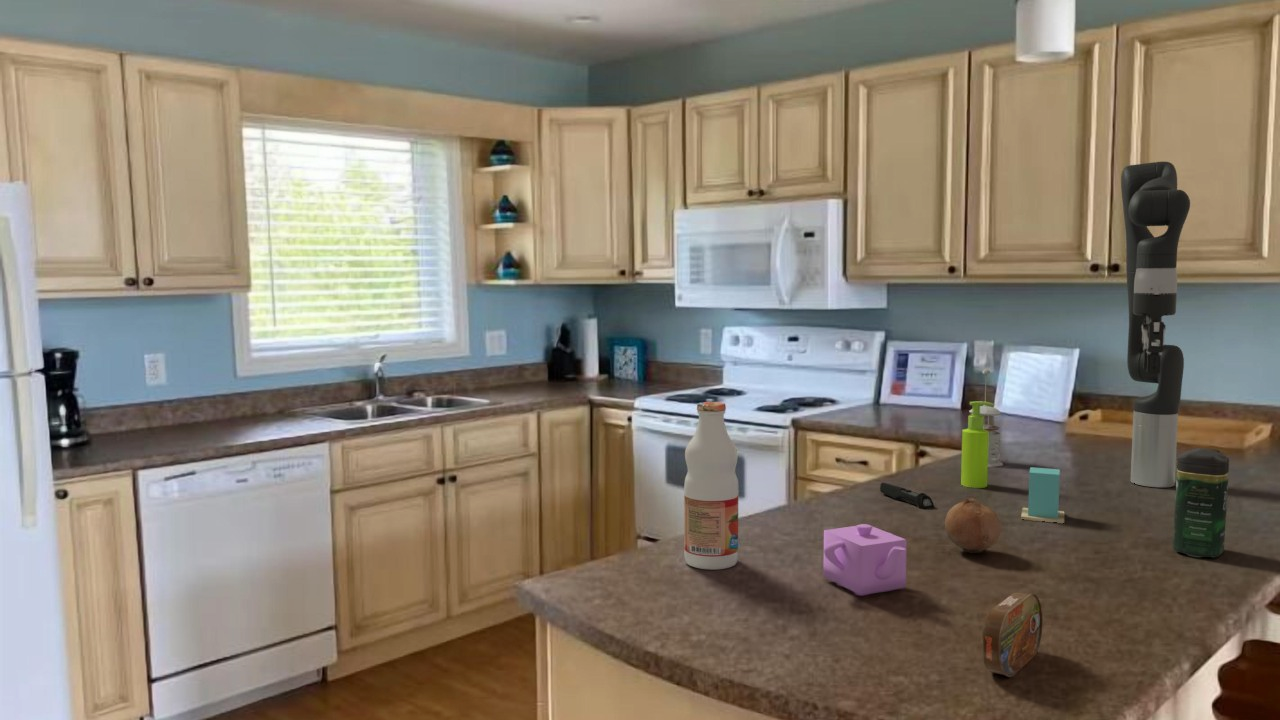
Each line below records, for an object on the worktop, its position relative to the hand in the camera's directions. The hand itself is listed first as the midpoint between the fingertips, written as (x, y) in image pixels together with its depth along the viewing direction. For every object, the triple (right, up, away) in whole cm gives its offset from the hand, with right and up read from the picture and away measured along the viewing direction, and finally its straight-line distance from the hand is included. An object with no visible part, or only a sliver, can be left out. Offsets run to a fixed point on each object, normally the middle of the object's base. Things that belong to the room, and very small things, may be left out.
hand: (1151, 371), depth 186 cm
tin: (-55, -37, -67) cm, 95 cm away
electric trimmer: (-44, -29, +19) cm, 56 cm away
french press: (-12, -25, +60) cm, 66 cm away
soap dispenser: (-23, -28, +33) cm, 49 cm away
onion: (-43, -33, -20) cm, 58 cm away
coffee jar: (-3, -32, -20) cm, 38 cm away
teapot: (-67, -34, -39) cm, 85 cm away
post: (-20, -30, +4) cm, 36 cm away
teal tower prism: (-20, -29, +4) cm, 36 cm away
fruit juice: (-91, -33, -25) cm, 100 cm away
